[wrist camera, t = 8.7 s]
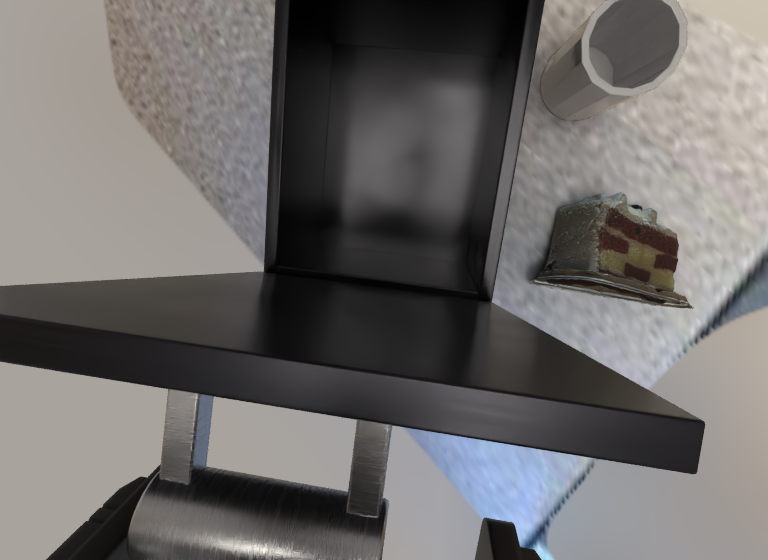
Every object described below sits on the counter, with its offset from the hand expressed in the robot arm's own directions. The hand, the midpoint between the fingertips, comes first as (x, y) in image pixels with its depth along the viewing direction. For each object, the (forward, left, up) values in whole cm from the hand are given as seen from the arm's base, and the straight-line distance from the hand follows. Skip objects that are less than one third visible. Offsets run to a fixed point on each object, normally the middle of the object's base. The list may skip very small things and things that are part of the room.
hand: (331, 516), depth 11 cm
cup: (-17, +11, -24) cm, 32 cm away
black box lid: (-5, -1, -5) cm, 7 cm away
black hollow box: (-11, -1, -24) cm, 27 cm away
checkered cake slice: (-6, +16, -24) cm, 30 cm away
